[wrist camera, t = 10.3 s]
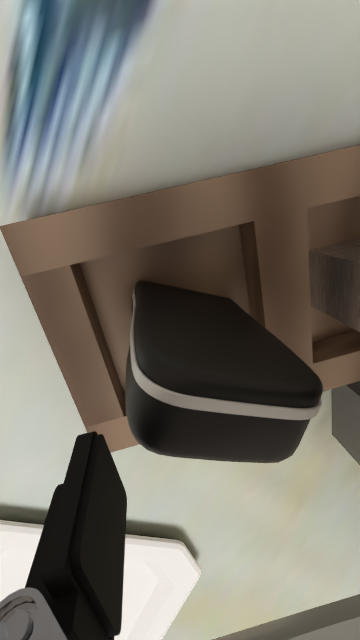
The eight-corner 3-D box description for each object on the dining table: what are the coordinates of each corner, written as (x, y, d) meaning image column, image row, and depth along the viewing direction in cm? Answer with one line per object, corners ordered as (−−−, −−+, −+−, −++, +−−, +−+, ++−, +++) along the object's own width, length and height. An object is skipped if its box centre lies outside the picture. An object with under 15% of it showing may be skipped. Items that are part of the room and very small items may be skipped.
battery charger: (122, 332, 20) (113, 478, 9) (132, 276, 18) (137, 369, 8) (220, 348, 21) (310, 487, 11) (235, 297, 20) (354, 397, 9)
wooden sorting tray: (446, 127, 20) (895, 12, 8) (423, 327, 25) (668, 427, 14) (26, 222, 18) (-167, 249, 6) (102, 416, 23) (76, 620, 12)
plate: (133, 663, 37) (133, 690, 35) (-95, 666, 31) (-111, 698, 29) (212, 527, 31) (218, 550, 29) (-57, 493, 24) (-75, 519, 22)
